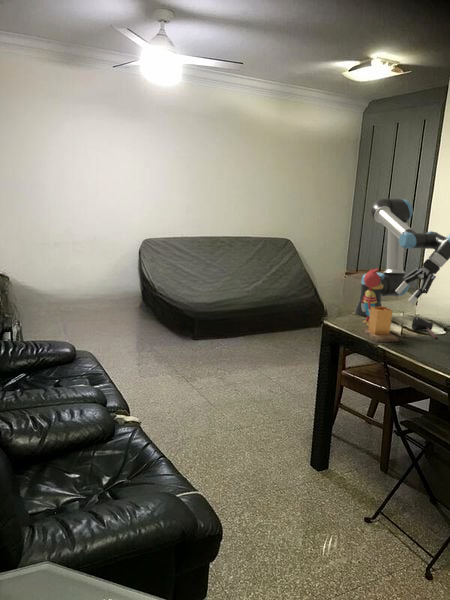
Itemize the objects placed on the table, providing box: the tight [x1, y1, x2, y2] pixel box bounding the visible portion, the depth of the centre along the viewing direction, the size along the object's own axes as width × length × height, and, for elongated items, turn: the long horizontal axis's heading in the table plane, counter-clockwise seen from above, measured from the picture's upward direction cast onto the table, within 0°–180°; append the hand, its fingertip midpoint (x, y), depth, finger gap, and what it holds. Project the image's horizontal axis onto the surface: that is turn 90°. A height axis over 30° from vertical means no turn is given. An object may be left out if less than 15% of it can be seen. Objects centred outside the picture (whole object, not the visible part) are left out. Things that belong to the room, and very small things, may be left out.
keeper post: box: [362, 327, 400, 343], centre depth 233 cm, size 16×11×10 cm
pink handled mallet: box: [411, 315, 438, 340], centre depth 243 cm, size 8×18×8 cm
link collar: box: [367, 306, 393, 335], centre depth 234 cm, size 7×7×12 cm
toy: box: [361, 268, 383, 328], centre depth 250 cm, size 15×10×30 cm
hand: (403, 297), depth 236 cm, fingers open, 13 cm apart
